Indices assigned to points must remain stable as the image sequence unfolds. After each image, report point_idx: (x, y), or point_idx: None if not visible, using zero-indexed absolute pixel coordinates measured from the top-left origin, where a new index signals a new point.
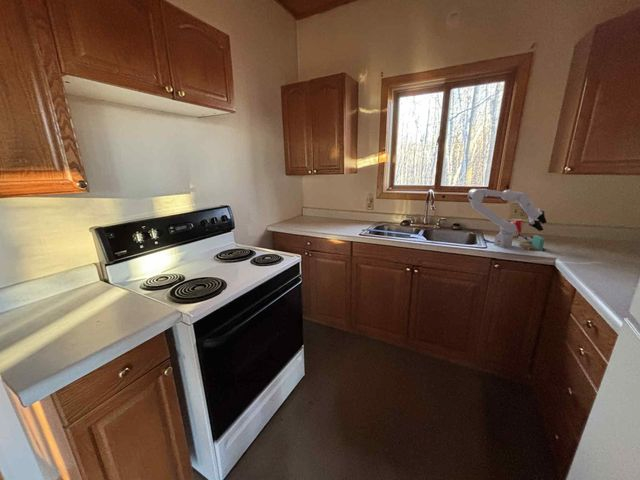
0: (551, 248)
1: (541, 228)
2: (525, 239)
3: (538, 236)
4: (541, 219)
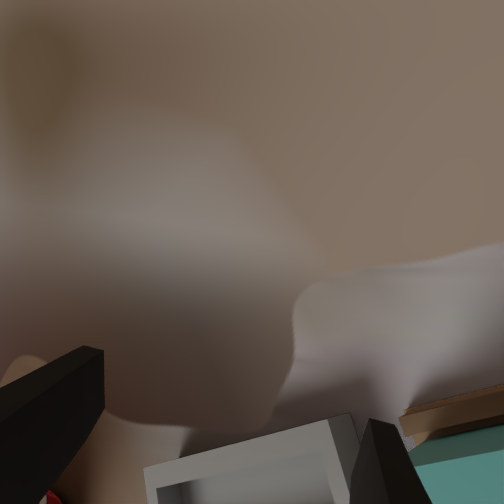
0: (371, 275)
1: (411, 479)
2: (178, 492)
3: (496, 480)
4: (23, 472)
